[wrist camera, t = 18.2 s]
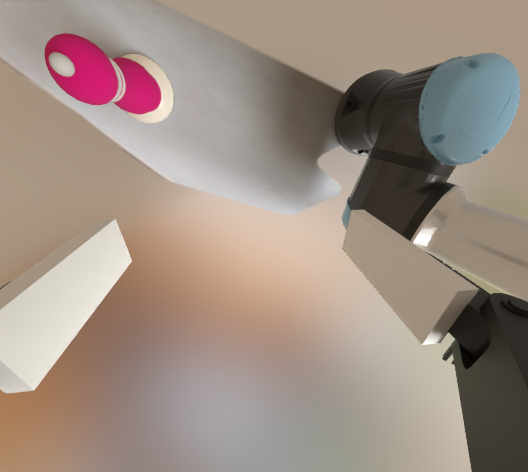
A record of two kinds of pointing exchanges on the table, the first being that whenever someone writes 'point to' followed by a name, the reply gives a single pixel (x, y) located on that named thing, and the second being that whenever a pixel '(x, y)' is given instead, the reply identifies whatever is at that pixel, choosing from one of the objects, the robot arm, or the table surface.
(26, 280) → the robot arm
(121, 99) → the pepper mill
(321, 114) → the table surface
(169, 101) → the cream dome
